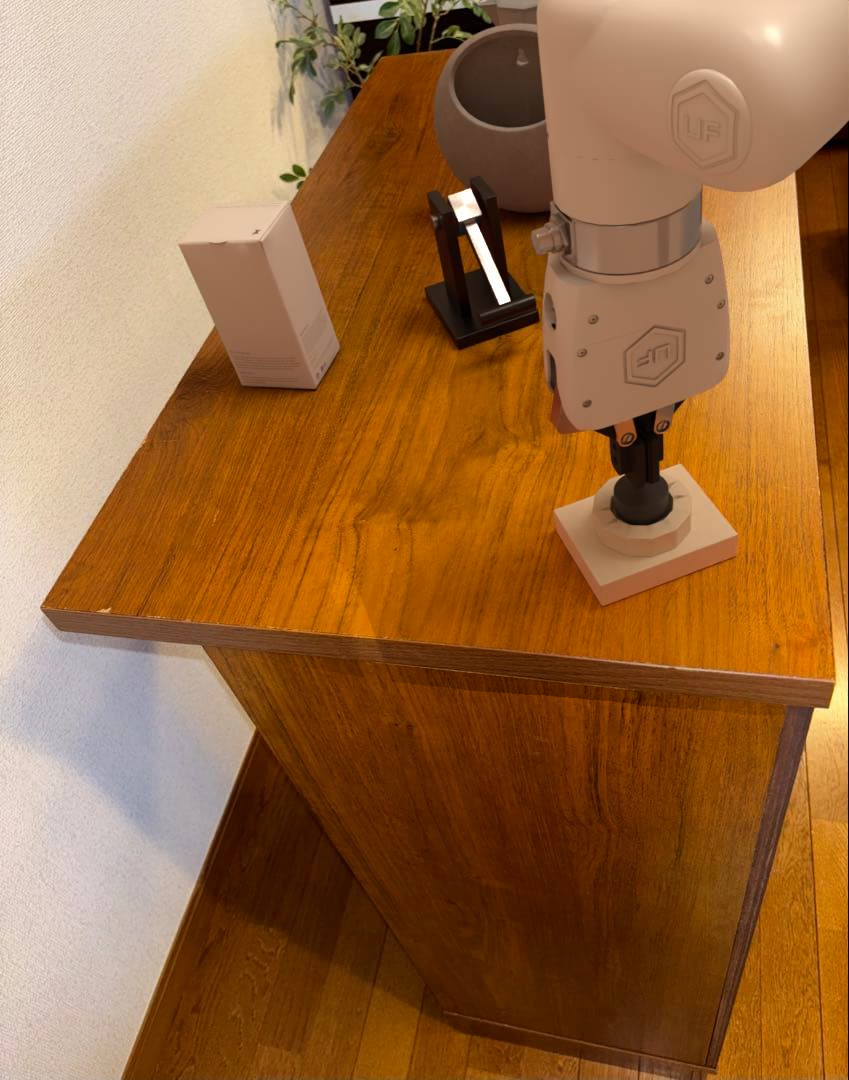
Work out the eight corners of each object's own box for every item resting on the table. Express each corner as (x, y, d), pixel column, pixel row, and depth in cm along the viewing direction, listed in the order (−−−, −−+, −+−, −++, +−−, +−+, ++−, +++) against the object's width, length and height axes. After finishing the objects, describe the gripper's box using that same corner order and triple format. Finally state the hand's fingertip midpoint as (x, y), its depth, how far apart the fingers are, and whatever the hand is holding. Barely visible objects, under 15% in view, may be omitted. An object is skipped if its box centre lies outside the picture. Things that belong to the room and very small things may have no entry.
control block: (680, 484, 72) (680, 444, 70) (737, 556, 67) (739, 515, 64) (555, 530, 72) (550, 491, 69) (602, 607, 66) (598, 568, 63)
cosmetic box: (342, 350, 93) (296, 197, 82) (315, 394, 89) (262, 240, 78) (265, 346, 96) (210, 198, 85) (235, 389, 92) (174, 240, 81)
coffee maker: (485, 142, 117) (460, -22, 104) (503, 108, 122) (481, -51, 109) (611, 136, 112) (601, -37, 99) (623, 101, 117) (615, -67, 104)
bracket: (540, 321, 90) (525, 202, 81) (458, 350, 89) (435, 233, 81) (501, 271, 97) (484, 157, 88) (426, 297, 96) (401, 185, 88)
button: (653, 482, 68) (653, 463, 67) (678, 514, 66) (678, 496, 64) (606, 499, 68) (604, 481, 67) (629, 533, 65) (627, 515, 64)
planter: (441, 229, 105) (405, 47, 91) (460, 195, 109) (428, 17, 96) (614, 228, 98) (603, 32, 85) (627, 192, 103) (618, 0, 89)
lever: (535, 313, 85) (538, 300, 82) (481, 332, 84) (482, 319, 82) (484, 198, 88) (485, 182, 85) (432, 216, 87) (432, 200, 85)
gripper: (522, 300, 48) (554, 549, 61) (797, 206, 49) (771, 469, 63) (471, 234, 53) (511, 476, 67) (721, 149, 55) (712, 404, 68)
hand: (637, 472), depth 65 cm, fingers closed
